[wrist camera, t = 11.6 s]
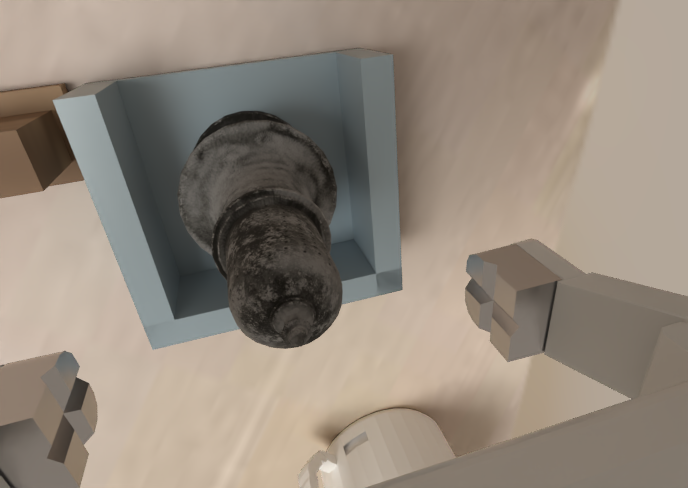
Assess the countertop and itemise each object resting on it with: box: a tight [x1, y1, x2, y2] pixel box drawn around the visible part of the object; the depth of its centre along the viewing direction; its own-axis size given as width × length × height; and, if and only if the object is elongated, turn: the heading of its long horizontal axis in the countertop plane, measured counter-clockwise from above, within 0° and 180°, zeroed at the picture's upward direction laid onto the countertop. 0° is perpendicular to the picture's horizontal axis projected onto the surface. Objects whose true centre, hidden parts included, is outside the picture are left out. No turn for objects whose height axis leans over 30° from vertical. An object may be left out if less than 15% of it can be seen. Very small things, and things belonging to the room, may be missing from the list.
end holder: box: [53, 48, 402, 350], centre depth 18 cm, size 10×11×4 cm
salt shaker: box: [177, 111, 343, 349], centre depth 14 cm, size 6×6×12 cm
